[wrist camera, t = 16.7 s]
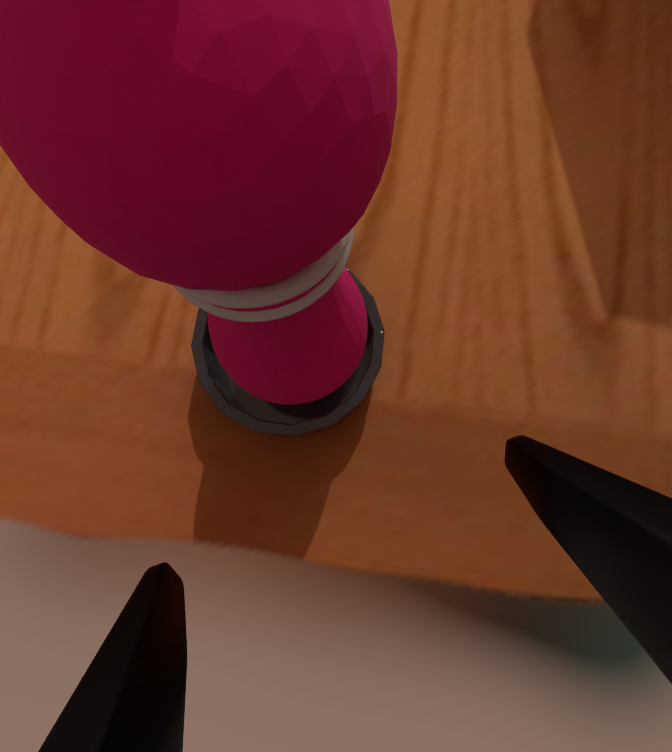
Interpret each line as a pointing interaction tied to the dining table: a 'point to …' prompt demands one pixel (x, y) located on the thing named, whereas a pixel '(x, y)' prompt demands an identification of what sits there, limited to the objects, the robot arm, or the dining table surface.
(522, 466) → the robot arm
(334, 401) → the tray
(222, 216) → the pepper mill
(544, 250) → the dining table surface
